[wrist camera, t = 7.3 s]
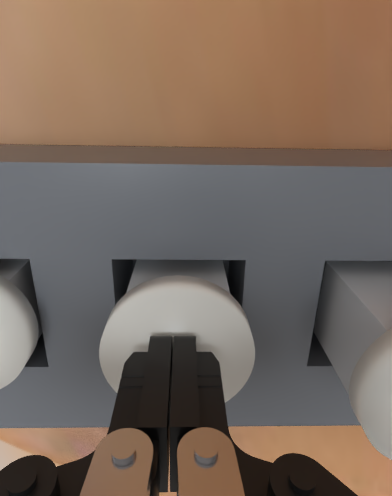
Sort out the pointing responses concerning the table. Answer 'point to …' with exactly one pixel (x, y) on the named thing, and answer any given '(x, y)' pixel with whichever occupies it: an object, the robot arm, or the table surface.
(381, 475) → the table surface
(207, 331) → the knob
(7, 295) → the knob
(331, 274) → the knob
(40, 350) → the block
